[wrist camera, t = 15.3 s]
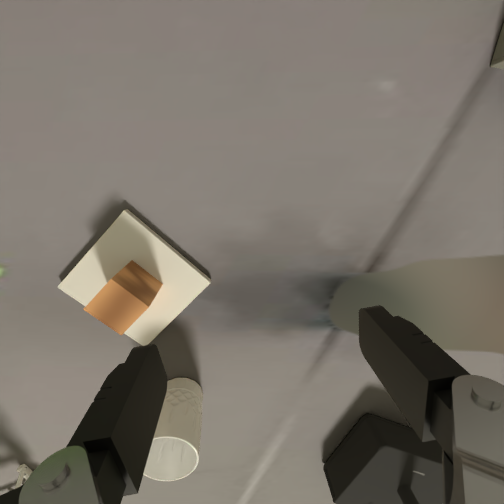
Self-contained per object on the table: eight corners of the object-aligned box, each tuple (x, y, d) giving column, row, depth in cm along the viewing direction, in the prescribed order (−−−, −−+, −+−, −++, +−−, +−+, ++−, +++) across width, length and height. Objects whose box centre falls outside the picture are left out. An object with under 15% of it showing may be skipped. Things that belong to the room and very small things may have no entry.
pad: (62, 283, 35) (57, 287, 34) (127, 208, 32) (124, 210, 31) (147, 342, 38) (144, 347, 37) (211, 279, 36) (210, 282, 35)
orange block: (108, 285, 34) (83, 309, 28) (132, 259, 33) (111, 278, 28) (139, 308, 35) (121, 335, 30) (163, 284, 35) (149, 306, 29)
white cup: (207, 374, 41) (199, 436, 31) (205, 412, 43) (197, 480, 34) (155, 373, 40) (132, 436, 31) (157, 412, 42) (135, 482, 33)
